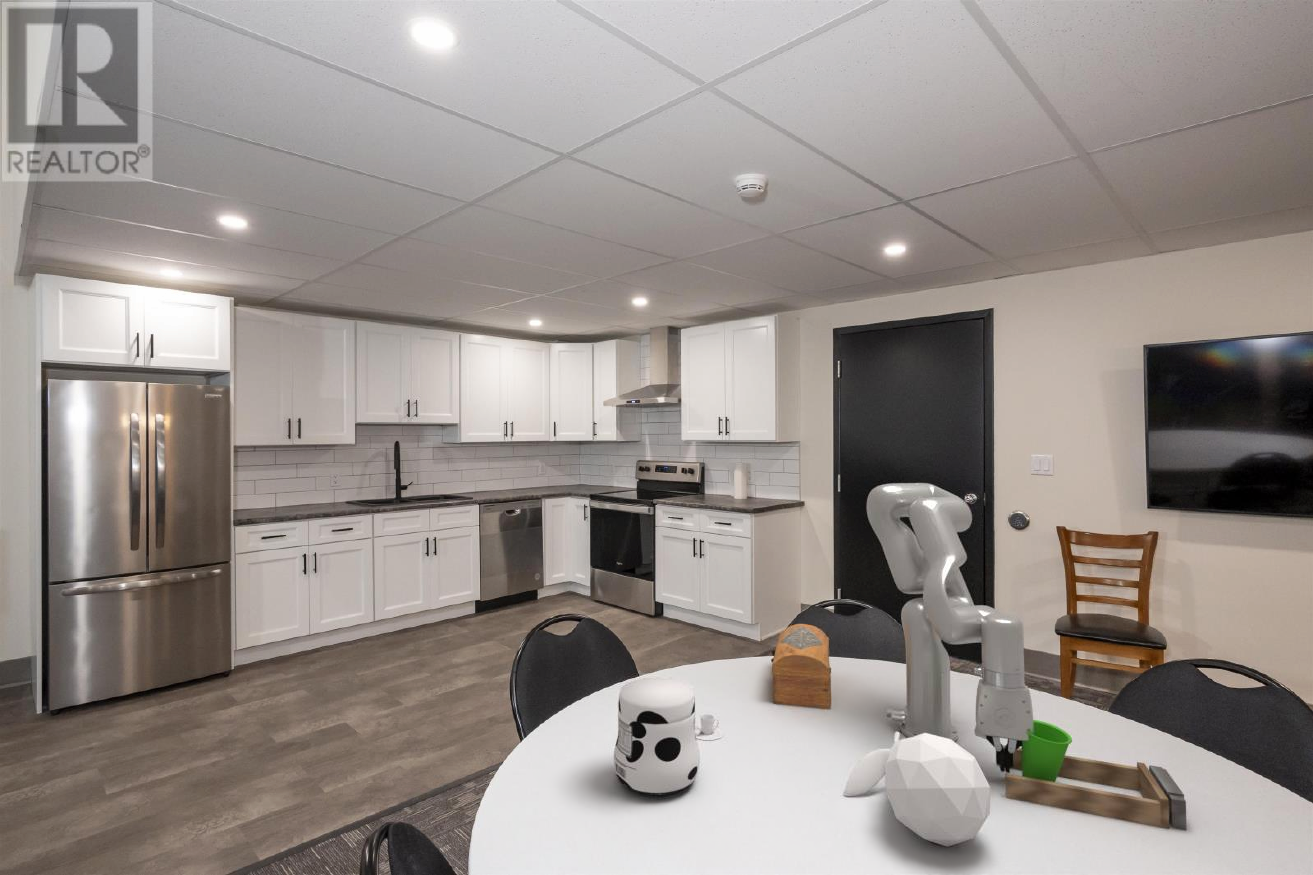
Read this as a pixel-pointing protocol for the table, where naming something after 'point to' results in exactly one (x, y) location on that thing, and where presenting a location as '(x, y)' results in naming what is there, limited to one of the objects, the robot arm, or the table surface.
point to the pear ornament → (928, 786)
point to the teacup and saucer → (708, 727)
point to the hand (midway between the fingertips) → (1004, 769)
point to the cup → (1044, 751)
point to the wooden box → (802, 668)
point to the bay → (1154, 785)
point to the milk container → (656, 736)
